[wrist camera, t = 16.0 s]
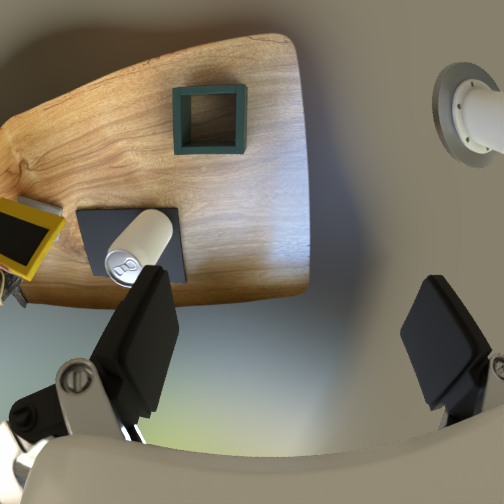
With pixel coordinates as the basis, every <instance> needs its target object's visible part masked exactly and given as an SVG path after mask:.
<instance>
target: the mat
mask: <svg viewBox="0 0 504 504" xmlns="http://www.w3.org/2000/svg"><path fill="white" fill-rule="evenodd" d="M149 209H154V210H158V211H160V212H162V213H164V214H165V215H166V216H167V217H168V218H169V220H170V221H171V224H172V228H173V233H172V237H171V239H170V240H169V242H168V244H167V246H166V247H165V249H164V251H163V252H162V254H161V256H160V257H159V259H158V261H157V263H156V264H155V265H160V266H162V267H163V270H167V271H168V274H169V280H170V282H174V283H186V276H185V269H184V261H183V253H182V245H181V236H180V227H179V217H178V208H127V209H90V210H76V215H77V219H78V224H79V228H80V231H81V235H82V239H83V243H84V246H85V250H86V253H87V256H88V260H89V263H90V266H91V269H92V272H93V275H94V276H104V277H110V276H109V274H108V272H107V270H106V267H105V258H106V256H107V254H108V250H109V248H110V246H111V245H112V244H113V242H114V241H115V240H116V239H117V238H118V237H119V236H120V234H121V233H122V232H123V231H124V230H125V229H126V228H127V227H128V226H129V225H130V224H131V223H132V222H133V220H134V219H135V218H136V217H137V216H138V215H139V214H140V213H142V212H143V211H145V210H149Z"/></svg>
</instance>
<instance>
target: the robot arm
mask: <svg viewBox="0 0 504 504" xmlns="http://www.w3.org/2000/svg"><path fill="white" fill-rule="evenodd" d="M452 114H453V121H454V124H455V128H456V131H457V133H458V135H459V137H460V139H461V141H462V142H463V143H464V145H465V146H466V147H468V148H469V149H470V150H472V151H474V152H477V153H481V154H484V153H488V152H490V151H491V150H492V149H493V150H495V151H497V152H500V153H502V154H504V92H499V91H492V90H491V89H490V88H489V87H488V86H487V85H486V84H485V83H484V82H482V81H479V80H475V79H468V80H465V81H463V82H462V83H460V85H459V86H458V87H457V89H456V91H455V94H454V98H453V104H452ZM178 333H179V325H178V320H177V315H176V310H175V305H174V301H173V296H172V291H171V285H170V280H169V274H168V271H167V270H163V267H162V266H160V265H145V266H144V267H143V269H142V270H141V272H140V274H139V275H138V277H137V279H136V280H135V282H134V284H133V285H132V287H131V289H130V290H129V292H128V294H127V296H126V297H125V299H124V300H123V301H121V302H120V304H119V305H118V307H117V308H116V310H115V312H114V314H113V316H112V317H111V319H110V321H109V323H108V325H107V327H106V328H105V330H104V332H103V334H102V336H101V338H100V340H99V341H98V343H97V345H96V347H95V349H94V351H93V353H92V355H91V357H90V359H89V360H87V359H84V358H75V359H71V360H69V361H67V362H66V363H64V364H63V365H62V366H61V367H60V369H59V370H58V372H57V375H56V384H53V385H51V386H49V387H47V388H44V389H42V390H40V391H38V392H35V393H33V394H31V395H29V396H26V397H24V398H22V399H20V400H18V401H17V402H15V403H14V405H13V406H12V408H11V410H10V413H9V421H6V420H3V421H2V422H1V423H0V504H504V355H502V354H494V355H492V357H491V358H490V359H488V358H487V357H488V355H489V354H490V353H491V351H492V349H491V347H490V345H489V344H488V342H487V340H486V338H485V337H484V335H483V334H482V332H481V330H480V329H479V327H478V325H477V324H476V322H475V321H474V319H473V318H472V316H471V315H470V313H469V312H468V310H467V309H466V307H465V306H464V304H463V303H462V301H461V300H460V299H459V297H458V296H457V294H456V293H455V291H454V290H453V289H452V288H451V286H450V285H449V283H448V282H447V281H446V279H445V278H444V277H443V276H442V275H429V276H428V277H427V278H426V279H425V280H424V281H423V283H422V285H421V288H420V290H419V292H418V294H417V297H416V299H415V301H414V303H413V306H412V308H411V310H410V312H409V314H408V316H407V318H406V320H405V322H404V324H403V326H402V328H401V331H400V335H401V339H402V341H403V343H404V346H405V348H406V350H407V353H408V355H409V358H410V360H411V363H412V365H413V368H414V371H415V373H416V376H417V379H418V381H419V384H420V387H421V390H422V393H423V395H424V398H425V401H426V403H427V404H429V407H430V409H431V411H433V410H436V409H439V408H442V406H444V405H445V408H446V409H445V412H444V415H443V418H442V420H441V424H440V426H439V429H438V430H436V431H433V432H430V433H427V434H424V435H421V436H417V437H414V438H410V439H407V440H403V441H399V442H395V443H391V444H387V445H382V446H377V447H372V448H367V449H361V450H355V451H349V452H342V453H334V454H325V455H314V456H300V457H299V456H298V457H243V456H227V455H217V454H207V453H198V452H191V451H184V450H177V449H172V448H166V447H161V446H156V445H151V444H146V443H145V441H144V439H143V437H142V435H141V434H140V432H139V430H138V428H137V426H136V424H137V423H138V419H139V416H140V417H144V418H150V415H151V412H155V411H156V410H157V406H158V403H159V399H160V395H161V391H162V388H163V385H164V381H165V378H166V374H167V370H168V367H169V364H170V360H171V357H172V354H173V350H174V347H175V344H176V340H177V337H178Z"/></svg>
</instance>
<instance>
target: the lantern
mask: <svg viewBox="0 0 504 504" xmlns="http://www.w3.org/2000/svg"><path fill="white" fill-rule="evenodd" d="M23 280H24V278H22V277H20V276H18V275H16V274H14V273H12V272H10V273H8V272H6V271H5V270H3V269H1V268H0V307H1V306H2V305H3V304H4V303H3V302H4V301H5V299H6V298H7V297H8V296H9V295H10V294H11V293H12V292H13V291H14V290H15V289H16V287H17V286H18V285H19V284H20V283H22V282H23Z"/></svg>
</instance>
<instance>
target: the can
mask: <svg viewBox="0 0 504 504" xmlns="http://www.w3.org/2000/svg"><path fill="white" fill-rule="evenodd" d="M172 233H173V228H172V224H171V221H170V220H169V218H168V217H167V216H166V215H165V214H164V213H162V212H160V211H158V210H154V209H149V210H145V211H143V212H142V213H140V214H139V215H138V216H137V217H136V218H135V219H134V220H133V222H132V223H131V224H130V225H129V226H128V227H127V228H126V229H125V230H124V231H123V232H122V233H121V234H120V236H119V237H118V238H117V239H116V240H115V241H114V242H113V244H112V245H111V246H110V248H109V250H108V254H107V256H106V258H105V267H106V270H107V272H108V274H109V276H110V277H111V278H112V279H113V280H114V281H115V282H117V283H118V284H120V285H122V286H125V287H132V285H133V284H134V282H135V280H136V279H137V277H138V275H139V274H140V272H141V270H142V269H143V267H144V266H145V265H155V264H156V263H157V261H158V259H159V257H160V256H161V254H162V252H163V251H164V249H165V247H166V246H167V244H168V242H169V240H170V239H171V237H172Z"/></svg>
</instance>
